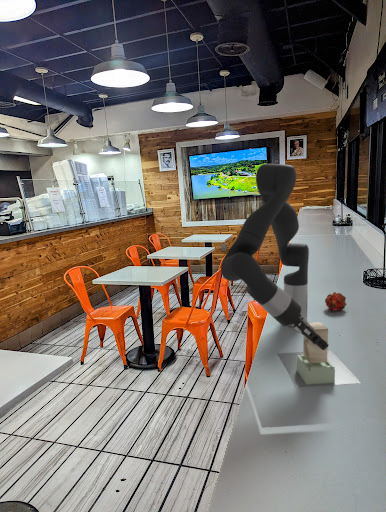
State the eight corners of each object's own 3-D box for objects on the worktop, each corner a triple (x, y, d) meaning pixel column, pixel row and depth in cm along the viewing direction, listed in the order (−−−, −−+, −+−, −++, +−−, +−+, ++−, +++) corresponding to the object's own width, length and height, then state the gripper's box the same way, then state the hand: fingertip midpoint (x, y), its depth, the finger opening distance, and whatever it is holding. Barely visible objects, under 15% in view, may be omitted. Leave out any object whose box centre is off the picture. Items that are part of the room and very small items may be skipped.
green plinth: (296, 369, 103) (296, 355, 102) (323, 368, 103) (323, 353, 102) (306, 384, 95) (306, 368, 94) (334, 382, 95) (335, 366, 94)
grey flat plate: (277, 356, 114) (277, 353, 114) (330, 352, 114) (330, 350, 114) (296, 390, 94) (296, 387, 94) (361, 386, 94) (361, 383, 94)
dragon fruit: (340, 309, 158) (333, 321, 149) (325, 297, 161) (317, 308, 152) (352, 297, 153) (345, 308, 144) (336, 285, 156) (328, 295, 147)
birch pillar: (303, 355, 100) (303, 322, 99) (320, 354, 100) (320, 322, 99) (309, 363, 95) (310, 329, 94) (327, 362, 96) (328, 328, 94)
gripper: (298, 304, 87) (343, 345, 90) (282, 288, 101) (321, 324, 104) (277, 324, 88) (322, 364, 91) (264, 306, 102) (303, 341, 105)
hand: (321, 343), depth 97 cm, fingers closed on birch pillar, 5 cm apart
